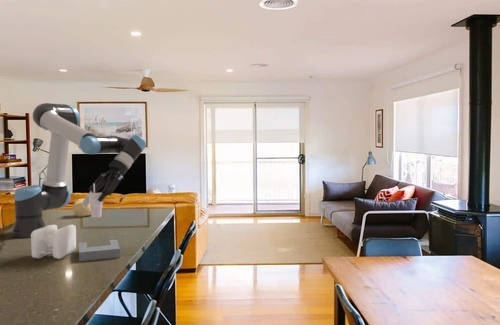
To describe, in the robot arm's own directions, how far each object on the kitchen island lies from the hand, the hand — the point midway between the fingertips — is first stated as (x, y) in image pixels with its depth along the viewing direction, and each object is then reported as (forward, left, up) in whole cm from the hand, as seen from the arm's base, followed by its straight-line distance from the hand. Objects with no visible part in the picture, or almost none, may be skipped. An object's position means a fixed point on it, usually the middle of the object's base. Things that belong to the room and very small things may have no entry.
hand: (88, 206), depth 172 cm
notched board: (+5, +4, -19) cm, 20 cm away
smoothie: (-2, +3, -5) cm, 6 cm away
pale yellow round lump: (-87, -1, -19) cm, 89 cm away
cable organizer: (0, -13, -19) cm, 23 cm away
